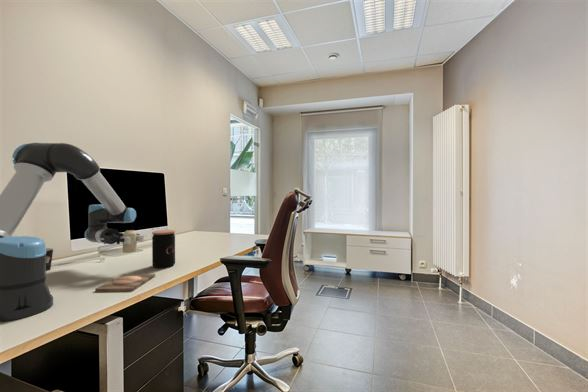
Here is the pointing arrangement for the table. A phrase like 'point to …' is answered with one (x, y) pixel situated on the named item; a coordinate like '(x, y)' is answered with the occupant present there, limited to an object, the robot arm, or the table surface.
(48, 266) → the coffee mug
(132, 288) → the candle board
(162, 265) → the coffee jar
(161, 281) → the table surface
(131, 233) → the candle
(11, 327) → the table surface
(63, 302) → the table surface
